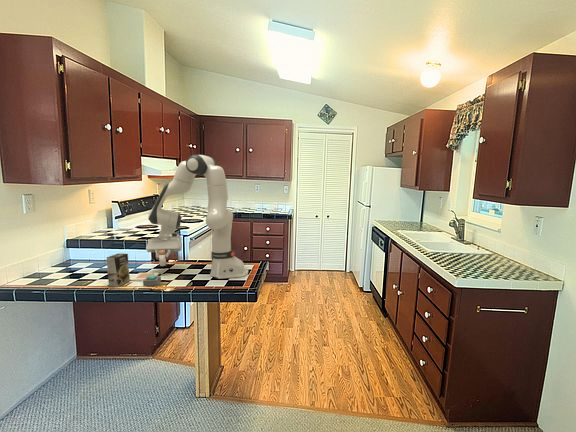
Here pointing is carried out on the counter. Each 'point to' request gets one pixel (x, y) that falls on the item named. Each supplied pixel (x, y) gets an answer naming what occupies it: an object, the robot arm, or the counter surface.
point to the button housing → (152, 281)
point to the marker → (162, 258)
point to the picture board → (143, 276)
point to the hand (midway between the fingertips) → (161, 257)
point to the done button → (152, 277)
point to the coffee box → (118, 270)
